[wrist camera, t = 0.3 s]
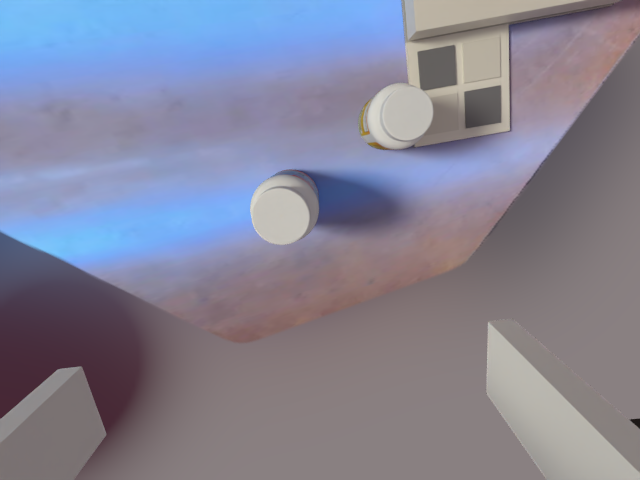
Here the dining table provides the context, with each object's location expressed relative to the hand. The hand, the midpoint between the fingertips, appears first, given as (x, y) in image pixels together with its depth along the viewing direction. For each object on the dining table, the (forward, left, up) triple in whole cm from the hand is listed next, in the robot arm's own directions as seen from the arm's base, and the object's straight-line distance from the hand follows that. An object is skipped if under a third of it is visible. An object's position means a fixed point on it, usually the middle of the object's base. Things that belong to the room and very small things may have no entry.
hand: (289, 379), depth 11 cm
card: (-10, +18, -27) cm, 34 cm away
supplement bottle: (-8, +10, -28) cm, 30 cm away
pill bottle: (-2, -1, -28) cm, 28 cm away
